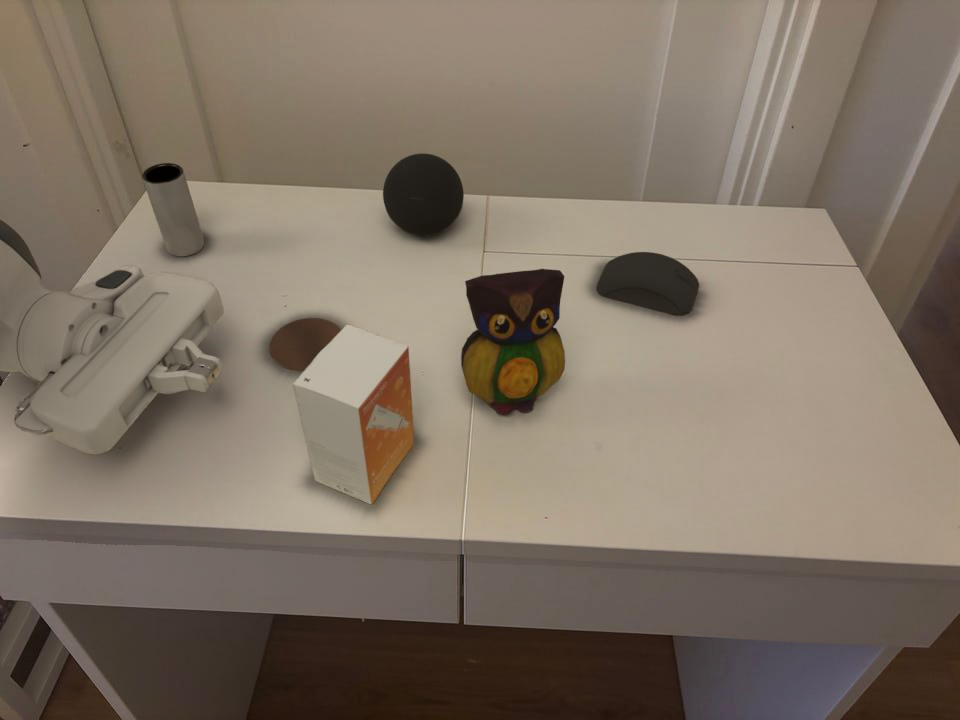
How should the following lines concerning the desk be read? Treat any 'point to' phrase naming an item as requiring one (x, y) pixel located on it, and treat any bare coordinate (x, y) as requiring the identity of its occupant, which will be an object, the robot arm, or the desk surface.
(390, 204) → the speaker
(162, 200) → the grey cylinder
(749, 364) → the desk surface
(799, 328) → the desk surface
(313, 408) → the small box
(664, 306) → the computer mouse
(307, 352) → the coaster
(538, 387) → the figurine
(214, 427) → the desk surface
